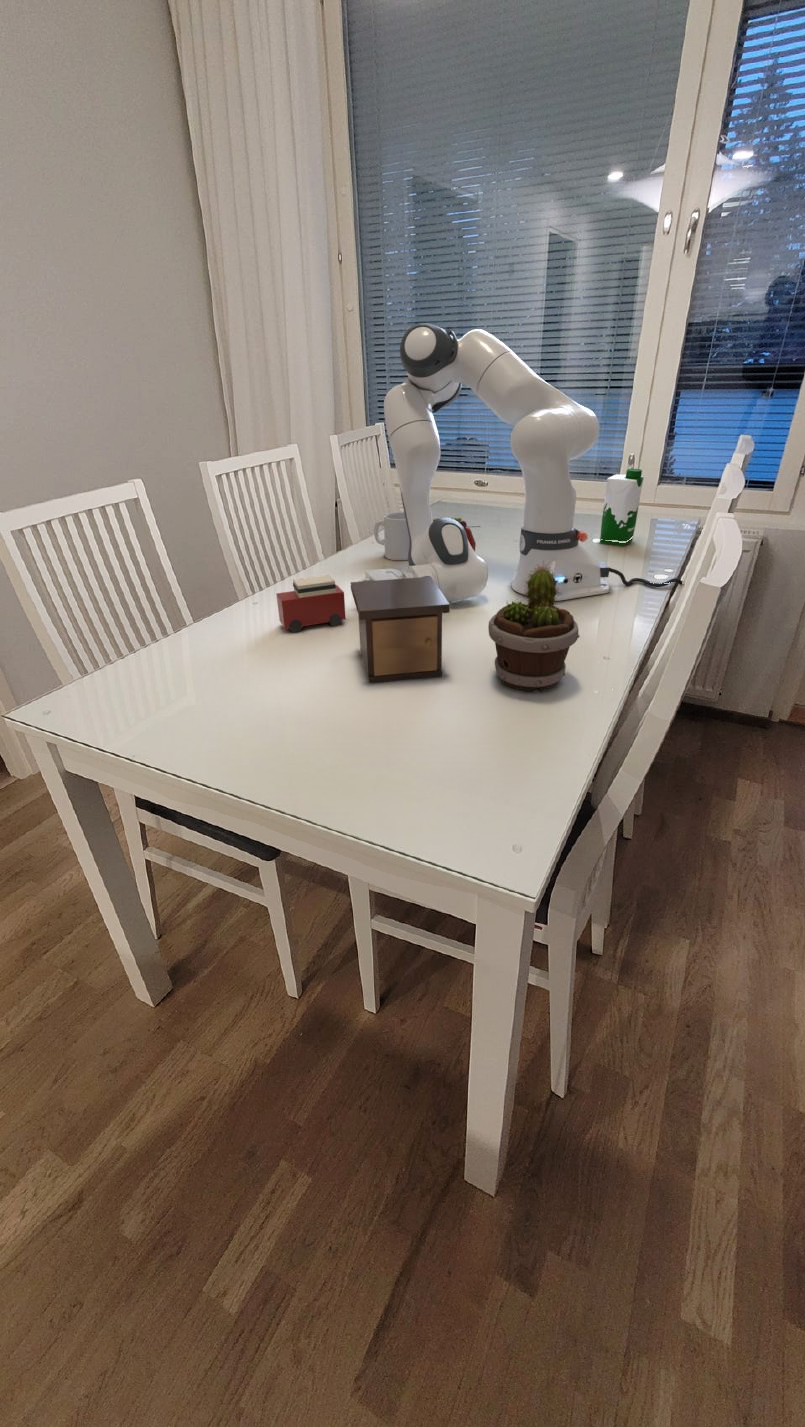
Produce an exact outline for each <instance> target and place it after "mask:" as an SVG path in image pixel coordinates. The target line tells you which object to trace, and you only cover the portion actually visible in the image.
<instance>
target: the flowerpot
mask: <svg viewBox="0 0 805 1427" xmlns="http://www.w3.org/2000/svg"><path fill="white" fill-rule="evenodd" d="M543 563H544V561H543ZM549 564H550V563H549ZM537 565H538V564H537ZM544 565H545V564H544ZM547 565H548V564H547ZM547 565H545V567H544V566H542V568H541V569H540V570H539V569H536V568H535V567H534V570H535V569H536V571H535V573H534V574H533V573H532V575H531V571H530V576H528V577H531V578H529V580H527V581H526V582H527V583H526V582H524V583H526V584H528V586H526V584H525V586H526V587H527V588H526V589H528V592H527V593H526V594H527V595H524V594H523V595H524V596H523V597H525V603H522V600H523V599H521V600H520V601H518V597H516V599H514V601H513V600H511V603H509V602H508V601H506V605H505V606H503V607H501V608H500V609H499V610H498V611H497V612H496V614H494V615H493V616H492V617H491V618H490V619H489V621H488V636H489V638H490V639H491V640H492V642H494V646H495V651H496V657H495V659H494V668H495V672H496V675H497V676H498V678H500V679H501V680H500V681H501V682H502V683H503V684H504V685H505V686H507V687H510V688H512V689H514V690H520V689H521V690H522V691H524V692H525V691H526V692H530V691H533V690H535V689H538V690H540V691H545V690H547V689H549V688H553V687H554V686H556V684H557V683H558V682H559V681H561V679H562V678H563V677H564V676H565V675H566V669H567V665H566V662H565V661H566V659H567V656H568V654H569V650H570V647H571V646H573V645H574V644H575V643H576V642H577V641H578V639H579V638H580V634H579V625H578V623H577V621H575V618H574V616H573V614H571V612H570V611H569V610H567V609H564V608H560V607H558V606H559V604H558V601H557V600H555V599H557V598H556V597H555V595H556V596H557V593H560V592H558V591H557V590H556V587H557V586H556V583H558V582H561V581H558V580H559V578H558V580H557V579H556V578H555V577H556V576H557V575H554V574H553V571H552V574H551V573H550V572H551V570H550V569H549V570H550V571H547V570H546V569H547V567H546V566H547ZM539 566H540V565H539ZM539 566H537V567H539ZM540 567H541V566H540ZM540 567H539V568H540ZM550 568H551V567H550ZM537 570H538V571H537ZM552 570H554V569H552ZM533 572H534V571H533ZM555 574H556V573H555ZM528 575H529V574H528ZM554 576H555V577H554ZM555 579H556V580H555ZM525 580H526V579H525ZM555 586H556V587H555ZM560 586H561V585H560ZM557 589H558V588H557ZM558 590H559V589H558ZM524 591H527V590H525V589H524ZM556 591H557V592H556ZM561 594H562V593H561ZM558 596H559V595H558ZM558 596H557V597H558ZM554 597H555V598H554ZM554 600H555V601H554ZM559 600H560V599H559ZM560 601H561V600H560ZM557 605H558V606H557Z"/></svg>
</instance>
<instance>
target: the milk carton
mask: <svg viewBox="0 0 805 1427" xmlns="http://www.w3.org/2000/svg"><path fill="white" fill-rule="evenodd" d="M642 473H643V470H642V469H640V468H627V469H626V472H625V474H618V473H616V474H614V475H611V476H610V477H607V478H606V488H605V495H604V503H603V510H602V518H601V526H600V538H599V544H605V545H611V546H618V547H625V546H627V545H629V544H630V543H631V542H632V541H633V539H634V535H635V530H636V525H637V518H638V512H639V507H640V501H641V493H642V490H643V484H644V479H645V476H643V475H642ZM632 536H633V538H632V539H631V540H629V539H630V538H631V537H632ZM601 539H603V540H601ZM605 540H618V541H627V540H629V541H628V542H626V543H619V542H612V541H605Z"/></svg>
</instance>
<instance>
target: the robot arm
mask: <svg viewBox="0 0 805 1427" xmlns="http://www.w3.org/2000/svg"><path fill="white" fill-rule="evenodd" d="M399 356H400V361H401V365H402V367H403V369H404V371H405V372H406V375H407V377H406V378H405V380H404V381H403V382H402V383H400V384H398V385H395V386H394V387H392V388H391V389H389V391H388V392H387V393H386V395H385V397H384V400H383V415H384V423H385V429H386V433H387V438H388V441H389V446H390V448H391V452H392V456H393V460H394V461H393V462H394V465H395V468H396V474H397V479H398V485H399V490H400V496H401V502H402V508H403V512H404V513H405V518H406V523H407V528H408V533H409V540H410V545H409V552H408V560H407V563H408V566H407V567H406V568H405V572H401V571H400V570H398V569H397V568H392V567H391V568H389V567H388V568H377V569H369V570H366V571H365V572H364V578H362V579H360V580H358V581H357V582H362V581H376V580H391V579H405V578H419V577H432V579H433V580H434V582H435V583H436V585H437V586H438V588H439V589H440V591H441V592H442V594H443V595H444V597H445V598H446V600H447V601H448V602H455V601H460V600H466V599H470V598H473V597H476V596H478V595H480V594H481V593H482V592H483V591H484V589H485V588H486V586H487V583H488V579H489V570H488V565H487V563H486V561H485V560H484V559H483V558H482V557H480V556H479V555H478V554H477V553H476V551H475V552H474V550H473V549H472V547H471V545H470V543H469V541H468V539H467V534H466V531H465V529H464V528H463V526H462V525H461V524H460V523H459V522H457V521H456V520H454V518H453V519H451V518H452V517H447V516H446V517H445V516H442V517H437V518H438V519H437V518H435V519H436V520H435V521H433V519H434V518H433V513H432V509H431V503H430V493H431V489H432V488H431V487H432V483H433V480H434V477H435V474H436V471H437V469H438V466H439V463H440V461H441V442H440V441H441V440H440V435H439V431H438V428H437V425H436V421H435V418H434V414H436V413H438V412H439V411H440V410H441V409H444V408H446V407H448V406H449V405H451V404H452V403H454V402H455V400H457V398H458V397H459V396H460V394H461V390H462V386H463V385H465V386H467V387H468V388H470V389H471V390H472V392H474V394H475V395H476V396H477V397H478V398H479V399H480V400H481V401H482V402H483V403H484V404H485V405H486V406H487V407H488V408H489V409H490V410H491V411H492V412H493V414H495V415H496V416H497V417H498V418H499V419H500V420H501V421H502V422H504V423H506V424H508V425H511V426H514V427H513V429H512V430H511V434H510V441H509V444H510V450H511V454H512V455H513V457H514V459H515V460H516V462H518V464H519V467H520V470H521V473H522V479H523V485H524V486H523V487H524V506H523V507H524V509H523V524H522V526H521V527H520V535H519V544H518V545H519V546H518V548H519V558H518V564H517V566H516V567H517V568H516V572H515V575H514V578H513V581H512V584H511V588H512V590H513V591H515V592H516V593H519V594H522V595H526V596H528V595H527V594H526V593H527V592H528V589H526V588H527V587H526V586H528V584H526V583H527V582H526V581H527V580H529V578H531V577H528V576H530V571H531V575H532V573H533V574H534V573H535V571H536V569H539V570H540V569H541V568H542V566H544V567H545V565H547V564H548V565H547V566H546V567H547V569H546V570H547V571H550V570H551V572H550V573H551V574H552V571H553V574H554V575H557V576H556V577H555V576H554V577H555V578H556V579H557V580H558V578H559V580H558V581H561V582H558V583H556V586H557V587H556V586H555V587H556V590H557V591H558V592H560V593H557V596H558V595H559V596H558V597H557V596H556V595H555V597H556V598H557V599H555V600H557V601H555V600H554V601H555V602H560V601H565V600H571V599H578V598H585V597H590V596H597V595H603V594H608V593H609V592H610V585H609V583H608V582H607V581H606V580H605V579H603V578H609V575H610V573H613V574H615V575H617V576H618V577H619V579H620V580H621V583H622V584H623V585H625V586H630V585H632V584H633V583H641V584H645V585H646V586H650V587H653V588H662V587H666V586H669V585H671V584H672V583H671V582H673V583H678V585H682V582H683V580H681V578H678V577H674V578H671V579H668V580H667V581H664V582H652V583H650V582H651V581H649V580H647V579H645V578H641V577H634V578H631V579H630V580H626V577H625V575H624V573H622V572H621V571H620V570H618V569H615V568H612V567H610V566H608V564H607V563H606V562H605V561H598V560H597V559H596V558H595V557H594V556H593V555H592V554H590V552H588V551H587V550H586V549H585V548H584V547H582V546H581V545H580V544H579V542H582V543H584V542H587V540H588V538H589V536H588V534H587V532H584V530H583V531H582V530H581V531H580V530H579V529H577V528H575V527H574V521H575V511H576V503H577V491H576V489H575V488H574V486H573V484H572V480H571V475H570V461H571V460H575V459H577V458H580V457H582V456H583V455H584V454H586V453H587V452H588V451H589V450H590V449H592V448H593V446H595V444H596V442H597V441H598V438H599V434H600V422H599V419H598V417H597V416H596V414H595V413H594V412H593V411H592V410H591V409H589V408H587V407H585V406H583V405H581V404H579V403H577V402H576V401H575V400H574V399H572V398H570V397H569V396H567V395H566V394H565V393H563V392H562V391H560V390H559V389H557V388H556V387H554V386H553V385H551V384H550V383H548V382H546V381H545V380H544V379H542V378H541V377H540V376H539V375H538V374H536V373H535V372H534V371H533V369H531V368H530V367H529V366H528V365H527V364H526V363H525V362H524V361H523V360H522V359H521V358H520V357H519V356H518V355H517V354H516V353H515V352H514V351H512V349H510V348H509V347H508V346H507V345H506V344H505V343H503V341H501V340H499V339H498V338H497V337H495V336H494V335H493V334H491V333H489V332H488V331H486V330H484V329H478V328H477V329H472V330H470V331H468V332H467V333H465V334H464V335H463V336H462V337H460V338H459V339H458V338H457V336H456V333H455V332H454V331H453V330H451V329H448V328H442V327H440V326H438V325H435V324H433V323H428V322H421V323H420V322H419V323H417V324H414V325H412V326H411V327H410V328H409V329H407V330H406V331H405V333H404V334H403V336H402V338H401V341H400V346H399ZM543 561H544V563H543ZM549 563H550V564H549ZM537 564H538V565H537ZM544 564H545V565H544ZM539 565H540V566H541V567H540V566H539ZM537 566H539V567H540V568H539V567H537ZM534 567H535V568H536V569H535V570H534ZM550 567H551V568H550ZM549 569H550V570H549ZM552 569H554V570H552ZM533 571H534V572H533ZM537 571H538V570H537ZM555 573H556V574H555ZM528 574H529V575H528ZM525 579H526V580H525ZM556 579H555V580H556ZM524 582H526V583H524ZM669 582H670V584H664V583H669ZM653 583H654V584H653ZM659 583H660V584H659ZM661 583H662V584H661ZM525 584H526V586H525ZM560 585H561V586H560ZM557 588H558V589H559V590H558V589H557ZM524 589H525V590H527V591H524ZM557 591H556V592H557ZM561 593H562V594H561ZM555 597H554V598H555ZM559 599H560V600H559Z"/></svg>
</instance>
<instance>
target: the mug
mask: <svg viewBox="0 0 805 1427" xmlns="http://www.w3.org/2000/svg"><path fill="white" fill-rule="evenodd" d="M380 526H382V527H383V531H384V538H381V537H380V535H379V527H380ZM373 533H374V534H373V535H374V539H375V542H376V543H377V544H379V545H381V546H384V558H386V559H388V560H392V561H408V552H409V545H410V540H409V533H408V528H407V523H406V518H405V513H404V511H403V512H402V511H399V512H390V513H387V514H385V515H383V519H379V520H377V521H376V522H375V524H374V528H373Z"/></svg>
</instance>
